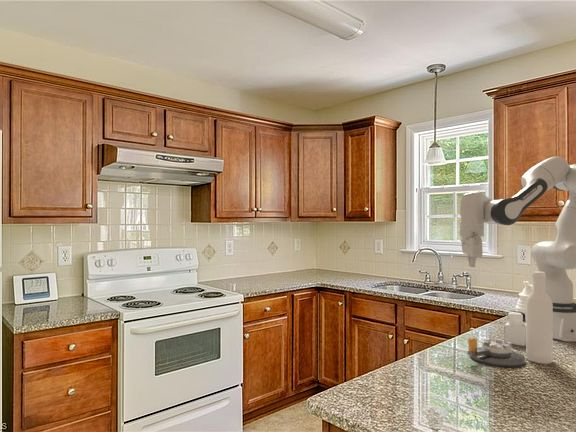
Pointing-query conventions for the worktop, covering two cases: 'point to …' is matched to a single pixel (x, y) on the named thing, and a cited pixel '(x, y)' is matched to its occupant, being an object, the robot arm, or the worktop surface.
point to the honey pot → (524, 298)
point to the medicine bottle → (515, 328)
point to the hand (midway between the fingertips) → (472, 266)
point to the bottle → (539, 323)
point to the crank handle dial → (490, 348)
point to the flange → (500, 360)
